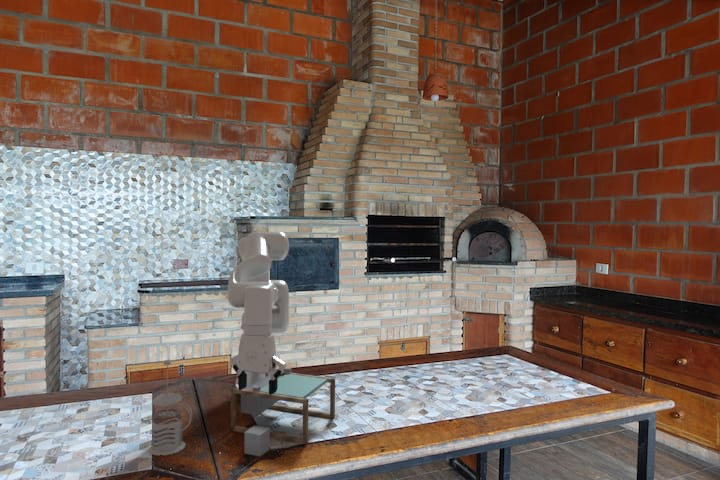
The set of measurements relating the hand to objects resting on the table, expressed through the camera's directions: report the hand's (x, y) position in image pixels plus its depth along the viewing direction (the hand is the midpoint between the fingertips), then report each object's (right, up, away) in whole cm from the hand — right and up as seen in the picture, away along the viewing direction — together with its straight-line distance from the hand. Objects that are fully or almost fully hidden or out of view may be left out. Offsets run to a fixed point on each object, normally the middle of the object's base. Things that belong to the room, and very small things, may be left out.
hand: (257, 390), depth 133 cm
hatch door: (+5, -11, +19) cm, 23 cm away
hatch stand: (+5, -17, +19) cm, 26 cm away
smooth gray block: (0, -17, +1) cm, 17 cm away
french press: (-25, -17, +2) cm, 31 cm away
